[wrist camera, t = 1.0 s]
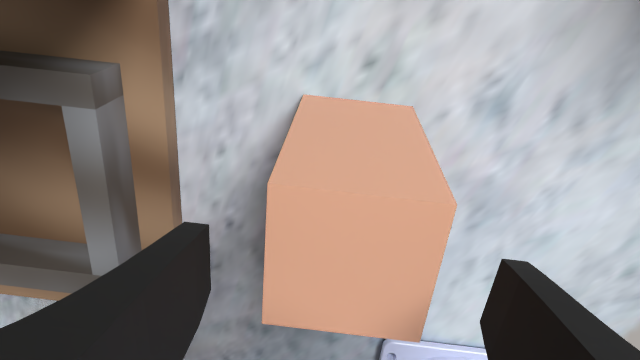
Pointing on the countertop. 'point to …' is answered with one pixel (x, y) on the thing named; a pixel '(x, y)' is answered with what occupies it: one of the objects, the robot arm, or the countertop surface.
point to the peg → (355, 221)
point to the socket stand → (83, 140)
